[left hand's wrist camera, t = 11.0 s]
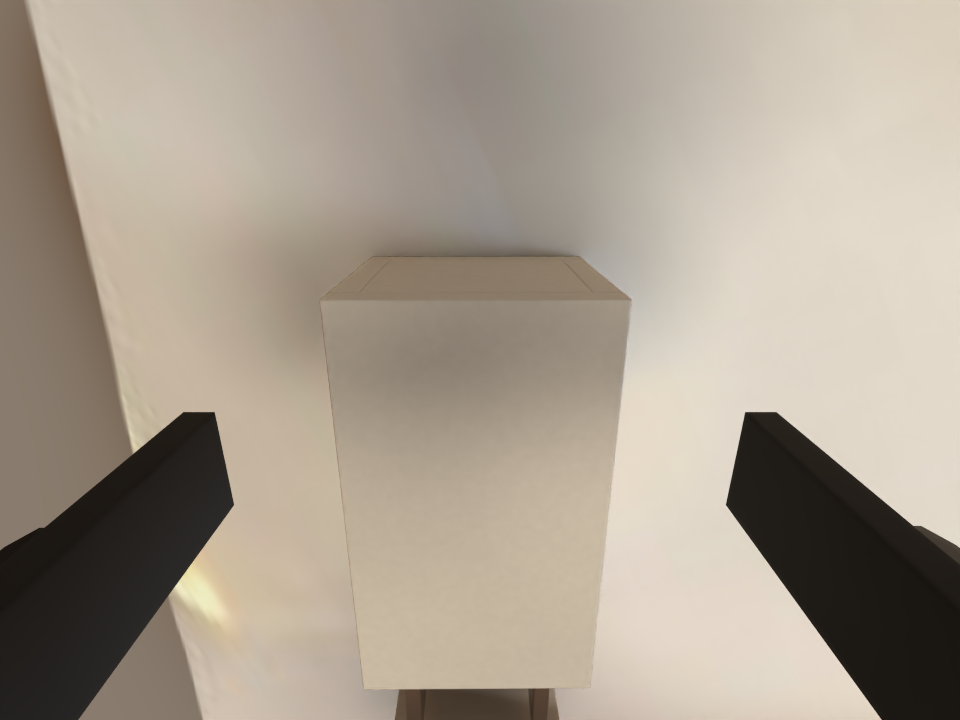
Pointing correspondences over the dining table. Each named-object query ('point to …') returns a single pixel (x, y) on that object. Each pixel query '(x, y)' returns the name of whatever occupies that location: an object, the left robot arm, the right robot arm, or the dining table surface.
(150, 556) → the left robot arm
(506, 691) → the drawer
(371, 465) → the cabinet
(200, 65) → the dining table surface
